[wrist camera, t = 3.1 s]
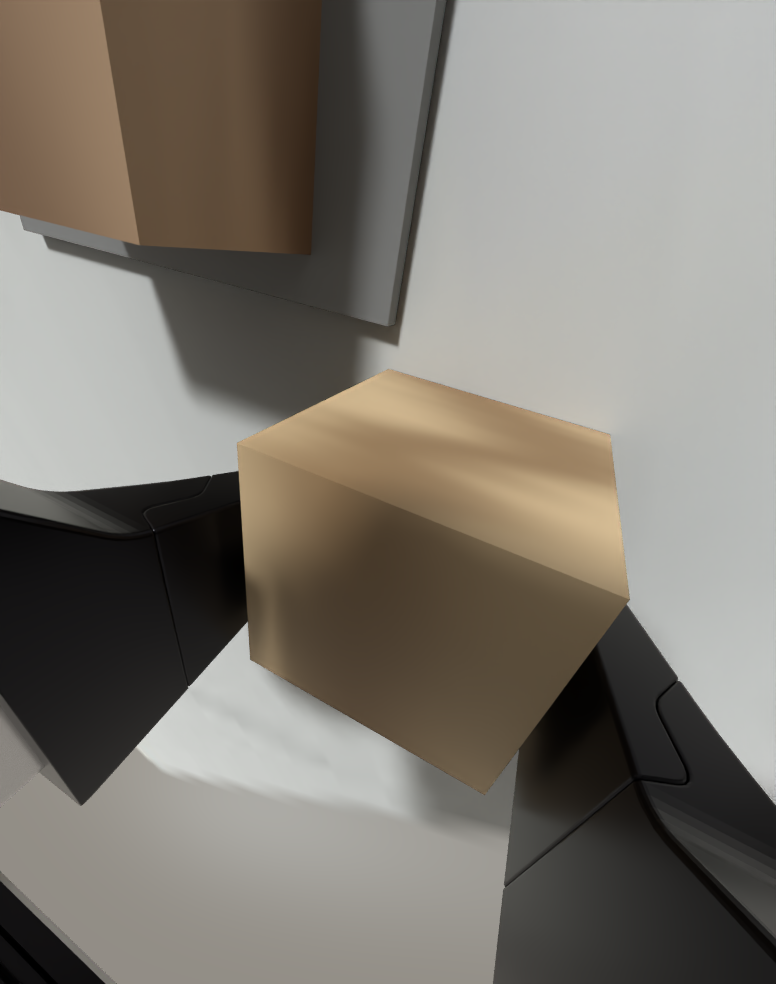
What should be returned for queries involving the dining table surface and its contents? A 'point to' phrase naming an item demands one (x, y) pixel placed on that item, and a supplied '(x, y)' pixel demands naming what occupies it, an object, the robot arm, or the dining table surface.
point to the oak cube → (430, 563)
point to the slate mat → (339, 169)
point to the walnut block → (163, 119)
